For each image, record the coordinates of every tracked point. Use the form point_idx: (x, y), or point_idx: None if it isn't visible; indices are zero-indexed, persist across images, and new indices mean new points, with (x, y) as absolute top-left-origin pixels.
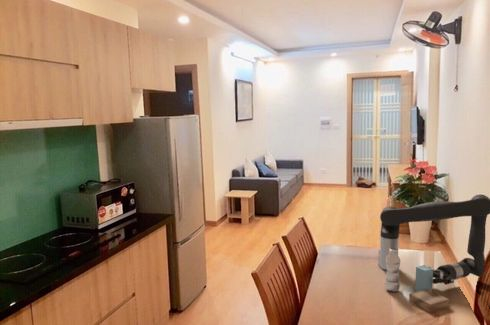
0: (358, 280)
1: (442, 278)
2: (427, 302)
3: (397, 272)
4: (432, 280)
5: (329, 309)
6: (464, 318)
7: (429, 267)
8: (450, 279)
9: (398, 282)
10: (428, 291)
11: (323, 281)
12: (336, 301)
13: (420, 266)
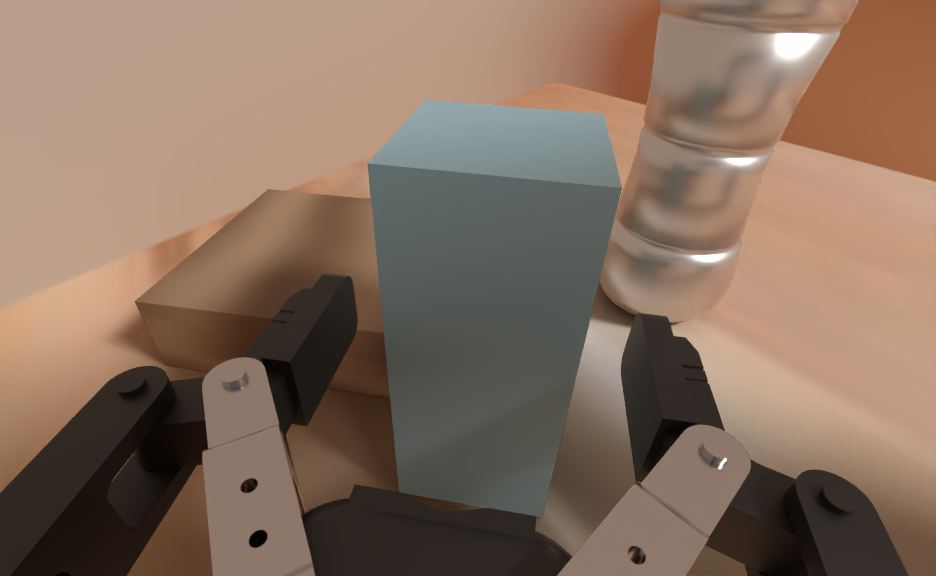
0: (882, 266)
1: (211, 379)
2: (297, 194)
3: (645, 120)
4: (387, 356)
5: (577, 110)
6: (38, 308)
7: (462, 170)
8: (13, 513)
9: (621, 227)
10: (366, 303)
11: (856, 175)
12: (622, 132)
13: (589, 138)
